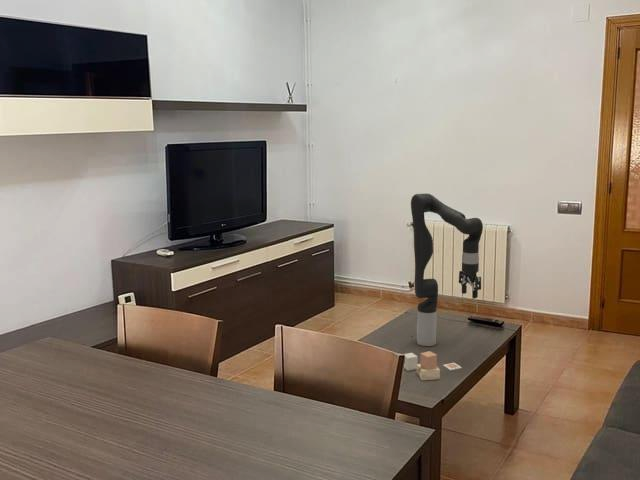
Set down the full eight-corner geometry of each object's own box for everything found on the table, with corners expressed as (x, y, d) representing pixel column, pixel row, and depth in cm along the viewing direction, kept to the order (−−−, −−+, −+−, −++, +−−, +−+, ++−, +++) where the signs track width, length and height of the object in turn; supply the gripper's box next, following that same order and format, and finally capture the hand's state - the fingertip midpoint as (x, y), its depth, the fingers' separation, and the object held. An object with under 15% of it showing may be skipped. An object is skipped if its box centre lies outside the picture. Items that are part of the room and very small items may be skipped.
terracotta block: (420, 366, 273) (420, 353, 272) (429, 363, 275) (429, 351, 274) (427, 370, 269) (427, 357, 267) (436, 367, 271) (436, 354, 270)
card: (443, 365, 284) (443, 364, 283) (454, 363, 286) (454, 362, 286) (450, 370, 278) (450, 369, 278) (461, 368, 280) (461, 366, 280)
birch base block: (416, 373, 276) (416, 364, 275) (434, 372, 277) (434, 362, 276) (421, 380, 268) (421, 371, 268) (439, 379, 269) (439, 369, 269)
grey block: (402, 366, 283) (402, 354, 282) (411, 365, 285) (412, 352, 284) (407, 370, 279) (407, 358, 278) (417, 368, 281) (417, 356, 279)
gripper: (486, 263, 279) (485, 298, 282) (468, 257, 292) (467, 290, 295) (472, 265, 276) (471, 300, 279) (454, 259, 289) (453, 292, 292)
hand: (469, 295), depth 287 cm, fingers open, 8 cm apart
